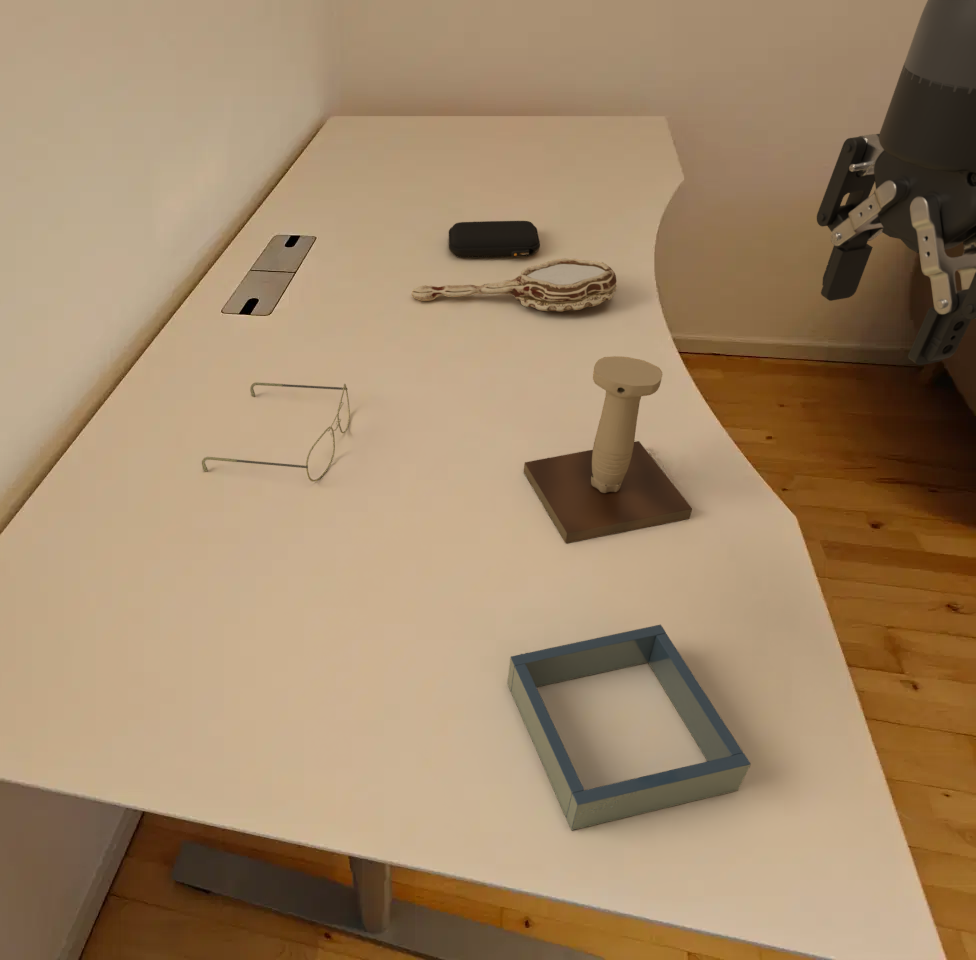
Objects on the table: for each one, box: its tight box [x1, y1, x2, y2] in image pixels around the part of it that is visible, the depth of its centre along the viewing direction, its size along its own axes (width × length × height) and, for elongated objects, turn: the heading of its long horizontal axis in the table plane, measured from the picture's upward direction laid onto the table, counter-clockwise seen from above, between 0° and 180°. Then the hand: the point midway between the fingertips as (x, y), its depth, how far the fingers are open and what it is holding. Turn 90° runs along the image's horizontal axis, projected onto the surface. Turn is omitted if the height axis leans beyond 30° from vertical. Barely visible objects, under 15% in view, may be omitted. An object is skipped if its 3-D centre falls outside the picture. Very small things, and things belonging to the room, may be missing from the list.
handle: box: [591, 355, 663, 493], centre depth 87 cm, size 5×6×15 cm
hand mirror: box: [411, 258, 618, 312], centre depth 125 cm, size 11×6×30 cm
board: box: [523, 440, 693, 544], centre depth 93 cm, size 14×12×2 cm
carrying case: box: [448, 220, 541, 259], centre depth 139 cm, size 11×3×15 cm
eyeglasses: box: [201, 381, 351, 482], centre depth 103 cm, size 16×15×5 cm
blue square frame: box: [506, 624, 752, 831], centre depth 69 cm, size 14×14×4 cm
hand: (878, 326), depth 55 cm, fingers open, 8 cm apart
